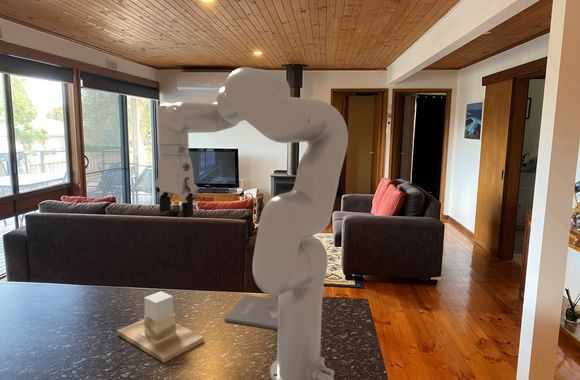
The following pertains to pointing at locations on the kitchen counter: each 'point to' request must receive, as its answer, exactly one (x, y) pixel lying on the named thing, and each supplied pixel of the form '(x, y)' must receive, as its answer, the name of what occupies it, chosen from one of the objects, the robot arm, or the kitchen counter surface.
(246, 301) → the play button award
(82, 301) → the kitchen counter surface
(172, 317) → the maple block
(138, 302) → the kitchen counter surface
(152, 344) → the base board
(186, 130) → the robot arm
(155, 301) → the white cube
